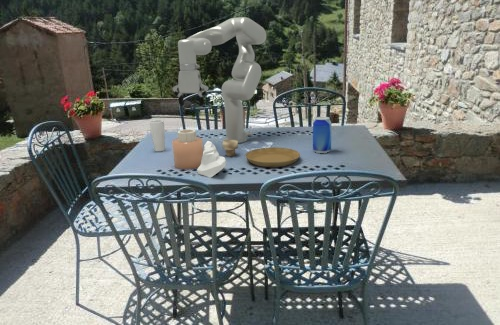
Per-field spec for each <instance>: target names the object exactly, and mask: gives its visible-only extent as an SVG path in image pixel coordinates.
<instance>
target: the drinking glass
mask: <svg viewBox="0 0 500 325" xmlns="http://www.w3.org/2000/svg"><path fill="white" fill-rule="evenodd" d="M149 128H150V134H151V138H152V144H153V150H154V151H155V152H157V153H158V152H161V153H162V152H164V151H166V141H165V139H166V138H165V137H166V136H165V135H166V134H165V132H166V131H165V122H164V119H153V120H149Z"/></svg>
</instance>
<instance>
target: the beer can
mask: <svg viewBox="0 0 500 325" xmlns="http://www.w3.org/2000/svg"><path fill="white" fill-rule="evenodd" d="M332 125H333V124H332V121H331V119H330V117H328V116H316V117H314V120H313V122H312V150H313V151H314V153H315V152H316V154H320V153H324V154H328V153H327V152H329V153H330V151H331V150H332Z"/></svg>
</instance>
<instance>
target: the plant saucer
mask: <svg viewBox="0 0 500 325" xmlns="http://www.w3.org/2000/svg"><path fill="white" fill-rule="evenodd" d="M300 156H301V153H300V152H299V151H298V150H296V149H293V148H286V147H278V146H277V147H275V146H274V147H261V148H256V149H252V150H249V151H247V152H246V153H245V159H247V161H248V162H250V163H251V164H253V165H254V166H258V167H262V168H263V167H264V168H280V167H286V166H289V165H292V164H294V163H295V162H297V161H298V159H299V158H300Z"/></svg>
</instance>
